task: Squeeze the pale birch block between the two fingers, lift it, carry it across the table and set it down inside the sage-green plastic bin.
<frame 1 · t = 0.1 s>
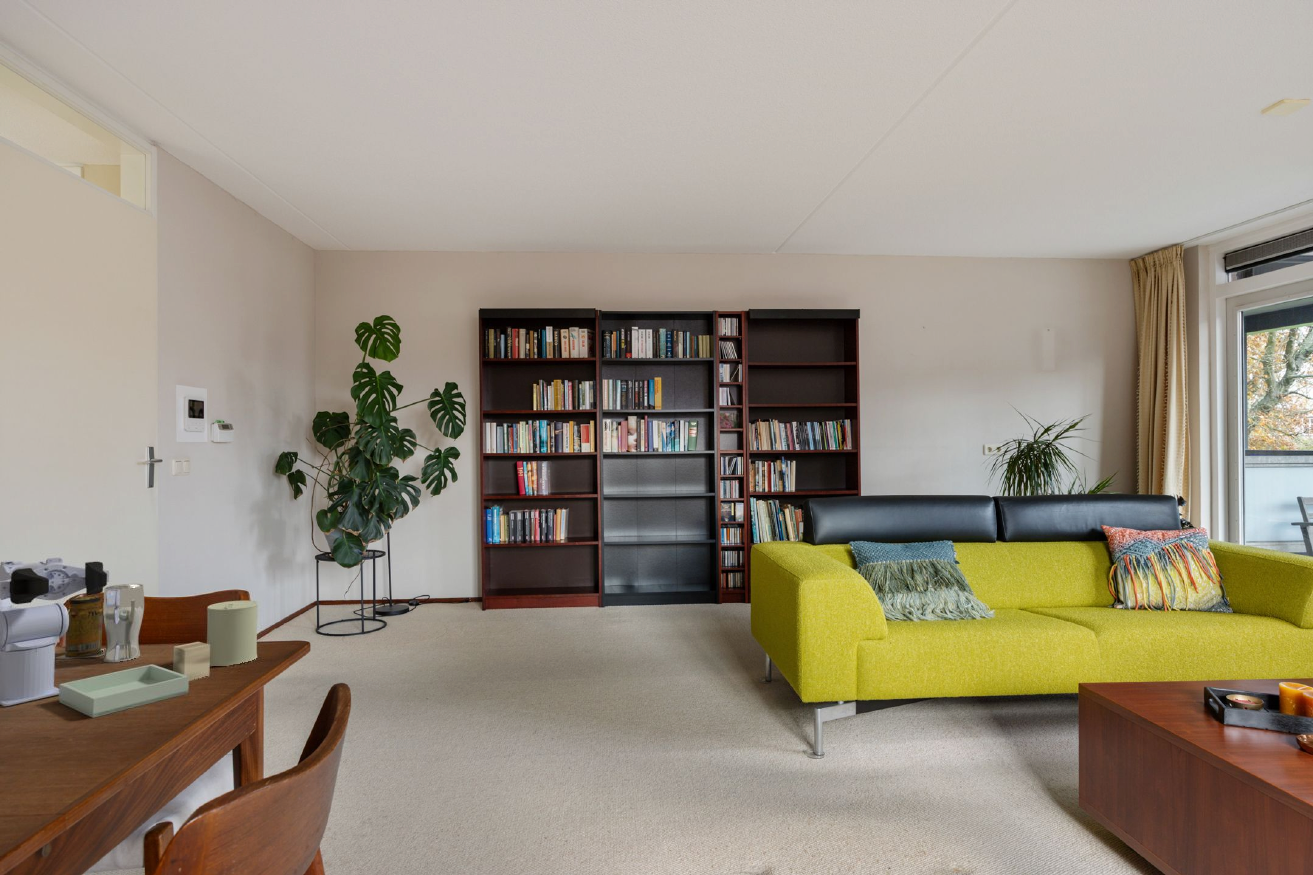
hand: (76, 582, 114), 22 cm above the table, tool horizontal, fingers open, 7 cm apart
bin: (124, 697, 122), on the table
birch block: (191, 677, 134), on the table
beer glass: (122, 659, 147), on the table
can: (231, 661, 145), on the table
condiment: (87, 655, 150), on the table
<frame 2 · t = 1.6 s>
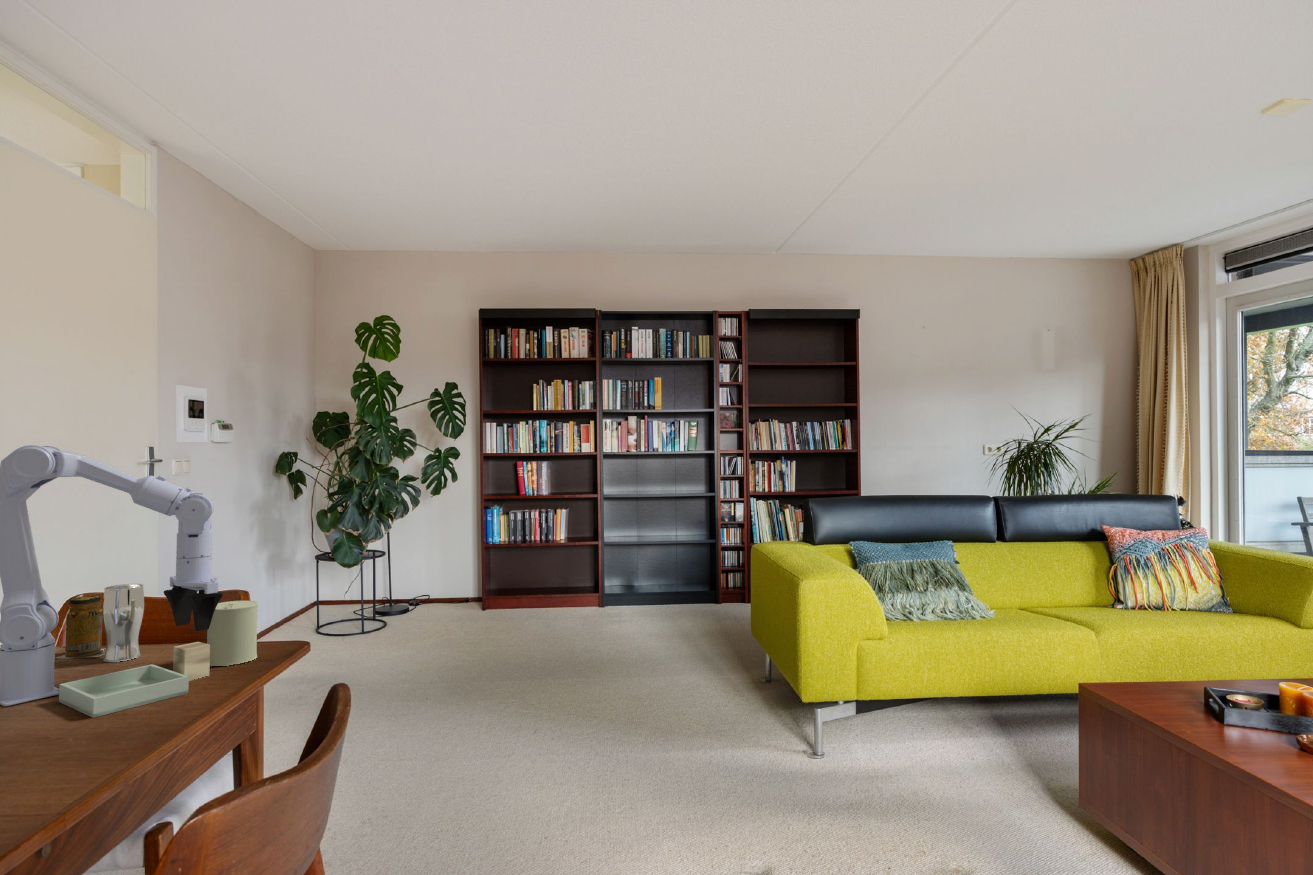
hand: (192, 627, 135), 9 cm above the table, tool pointing down, fingers open, 7 cm apart
nothing on the table moved.
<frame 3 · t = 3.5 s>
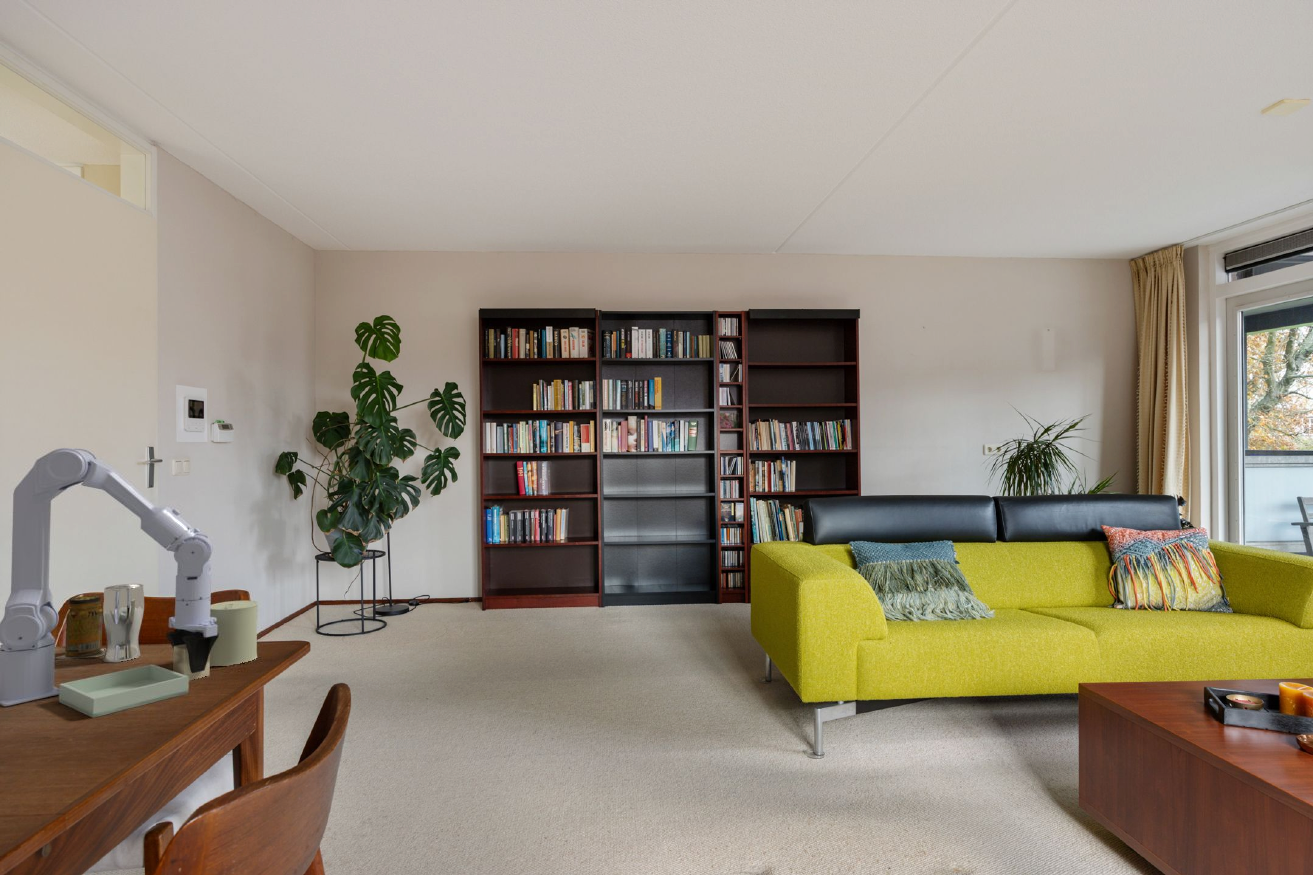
hand: (191, 669, 134), 1 cm above the table, tool pointing down, fingers closed on birch block, 4 cm apart
birch block: (191, 676, 134), on the table, touching gripper
everything else where it was.
when the fingers open (4 cm above the table, at t = 7.1 s): birch block drops 2 cm, resting on bin.
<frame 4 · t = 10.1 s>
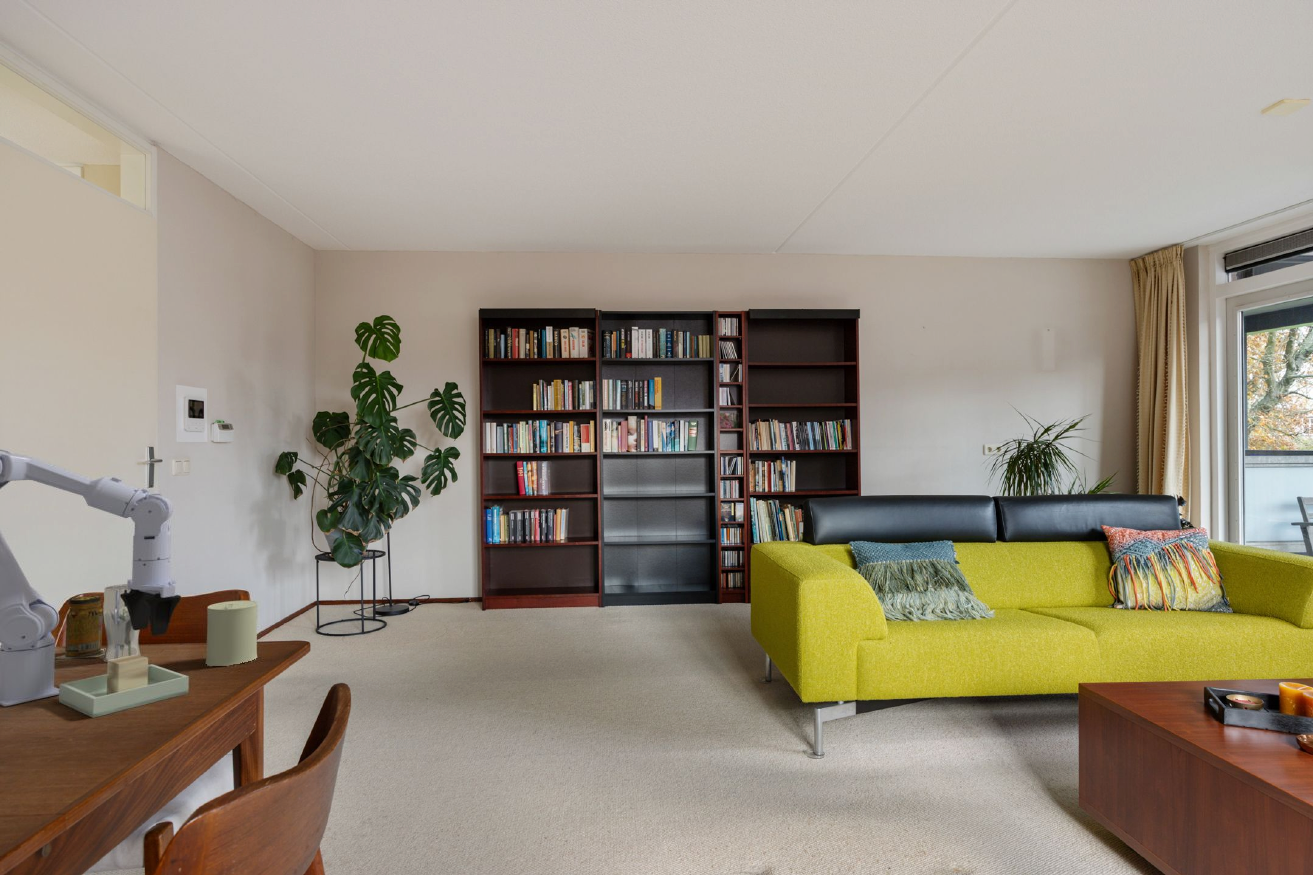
hand: (149, 631, 131), 9 cm above the table, tool pointing down, fingers open, 7 cm apart
birch block: (127, 693, 123), point 1 cm above the table, touching bin
everything else where it was.
at the end: birch block inside the target area on the bin (0.3 cm from its centre), point 0.6 cm above the bin's base; the gripper is holding nothing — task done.
